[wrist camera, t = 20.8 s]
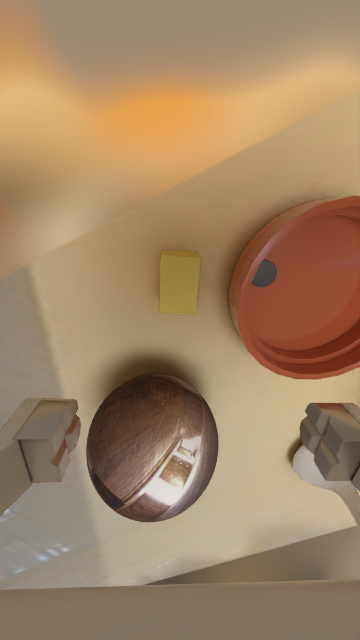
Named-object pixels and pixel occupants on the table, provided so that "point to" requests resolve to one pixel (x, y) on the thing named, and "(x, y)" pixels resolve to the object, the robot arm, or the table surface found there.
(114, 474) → the wooden sphere
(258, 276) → the dark grey flat disc
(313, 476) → the flower in vase
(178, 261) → the sponge
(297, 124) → the table surface
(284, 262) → the bowl
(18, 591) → the robot arm
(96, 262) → the table surface
